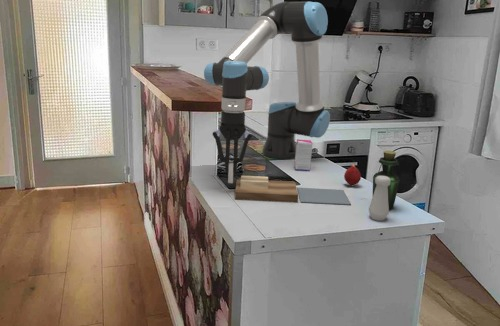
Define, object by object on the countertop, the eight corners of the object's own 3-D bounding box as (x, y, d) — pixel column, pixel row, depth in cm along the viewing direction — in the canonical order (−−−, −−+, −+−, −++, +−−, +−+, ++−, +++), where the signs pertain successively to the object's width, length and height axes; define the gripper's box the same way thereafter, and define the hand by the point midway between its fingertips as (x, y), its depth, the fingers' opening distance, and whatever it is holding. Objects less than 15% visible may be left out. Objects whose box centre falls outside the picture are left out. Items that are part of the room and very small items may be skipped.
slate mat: (297, 188, 162) (297, 187, 162) (343, 190, 162) (343, 189, 162) (300, 202, 148) (300, 201, 148) (351, 205, 148) (351, 204, 148)
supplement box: (310, 171, 183) (312, 143, 180) (295, 170, 183) (297, 142, 180) (308, 167, 189) (310, 139, 185) (293, 166, 188) (296, 138, 185)
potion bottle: (393, 213, 143) (401, 156, 138) (367, 208, 146) (373, 152, 141) (397, 205, 150) (405, 151, 145) (372, 200, 153) (378, 147, 148)
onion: (362, 185, 168) (364, 164, 166) (356, 189, 164) (358, 167, 161) (347, 182, 171) (349, 161, 169) (340, 186, 167) (342, 164, 164)
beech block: (240, 182, 157) (241, 175, 156) (267, 183, 157) (268, 176, 156) (240, 188, 151) (240, 180, 151) (267, 189, 151) (268, 182, 151)
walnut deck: (236, 185, 162) (237, 178, 161) (294, 188, 162) (294, 181, 161) (234, 199, 148) (235, 192, 148) (297, 202, 148) (298, 195, 148)
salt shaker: (363, 217, 139) (368, 175, 135) (375, 213, 142) (380, 172, 139) (380, 223, 135) (386, 180, 131) (391, 219, 138) (397, 177, 135)
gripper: (211, 111, 144) (209, 184, 150) (253, 114, 144) (250, 186, 150) (213, 108, 151) (212, 177, 158) (253, 110, 151) (250, 179, 158)
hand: (230, 181), depth 154 cm, fingers closed
